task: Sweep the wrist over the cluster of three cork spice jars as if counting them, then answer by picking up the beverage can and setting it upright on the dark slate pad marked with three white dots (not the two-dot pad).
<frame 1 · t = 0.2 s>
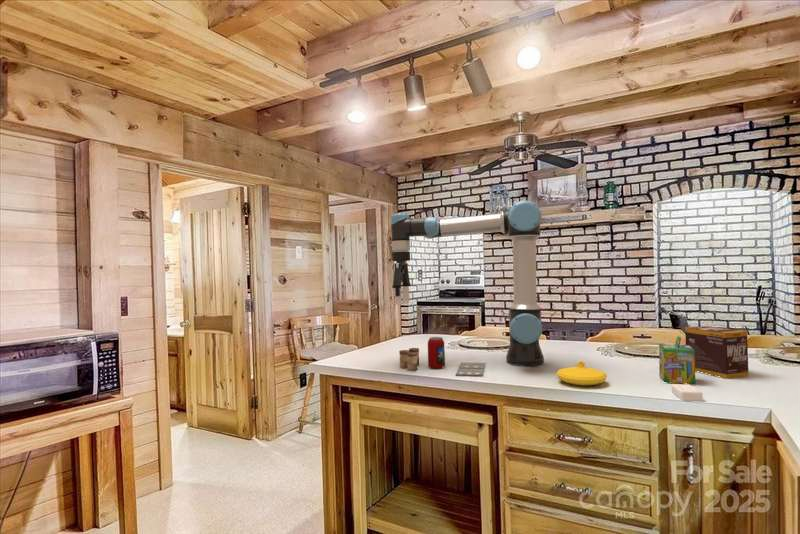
hand: (402, 303, 181), 26 cm above the worktop, fingers open, 13 cm apart
pad three: (470, 373, 167), on the worktop
jar b: (404, 367, 180), on the worktop
chalk box: (677, 381, 148), on the worktop
supplement box: (716, 373, 156), on the worktop
jar c: (414, 365, 185), on the worktop
jar a: (412, 370, 176), on the worktop
yellow lidded dish: (581, 383, 149), on the worktop
beverage can: (436, 368, 178), on the worktop
soap: (686, 398, 130), on the worktop
pad two: (472, 366, 178), on the worktop
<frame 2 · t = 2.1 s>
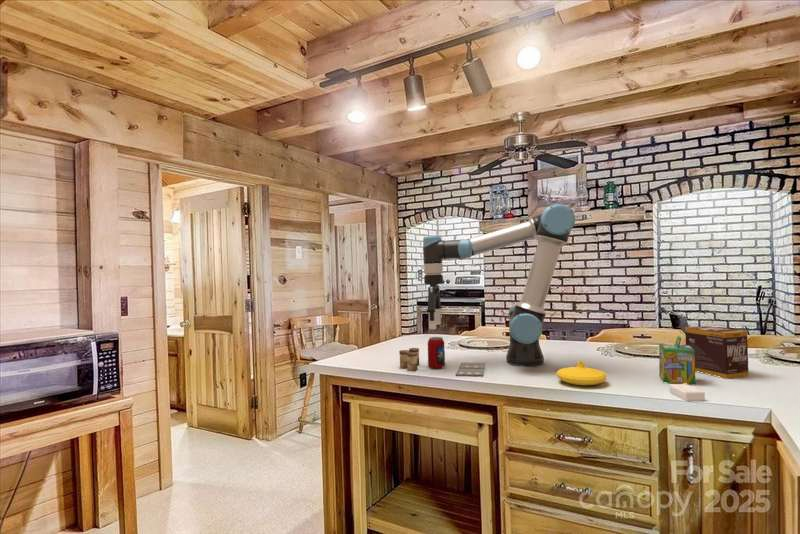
hand: (435, 326, 178), 17 cm above the worktop, fingers open, 13 cm apart
nothing on the worktop moved.
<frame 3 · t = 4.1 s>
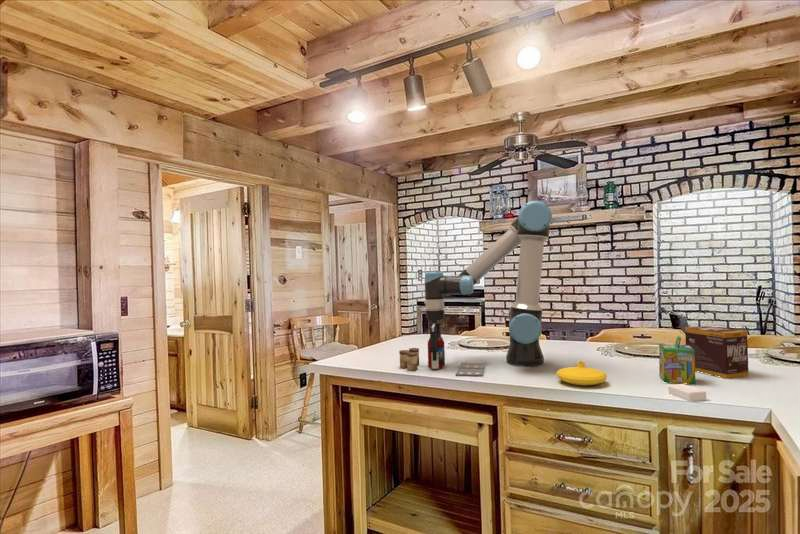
hand: (436, 366, 178), 1 cm above the worktop, fingers closed on beverage can, 7 cm apart
beverage can: (436, 368, 178), on the worktop, touching gripper
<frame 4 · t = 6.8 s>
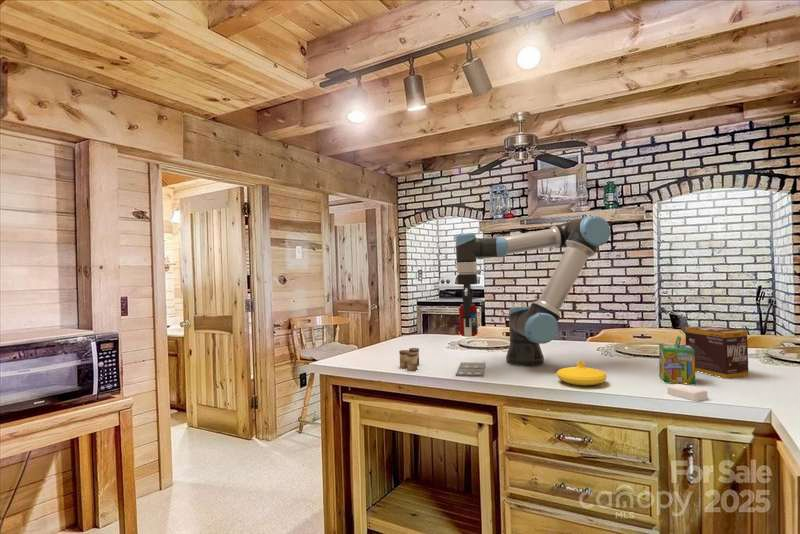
hand: (468, 334, 167), 15 cm above the worktop, fingers closed on beverage can, 7 cm apart
beverage can: (468, 336, 167), point 14 cm above the worktop, touching gripper
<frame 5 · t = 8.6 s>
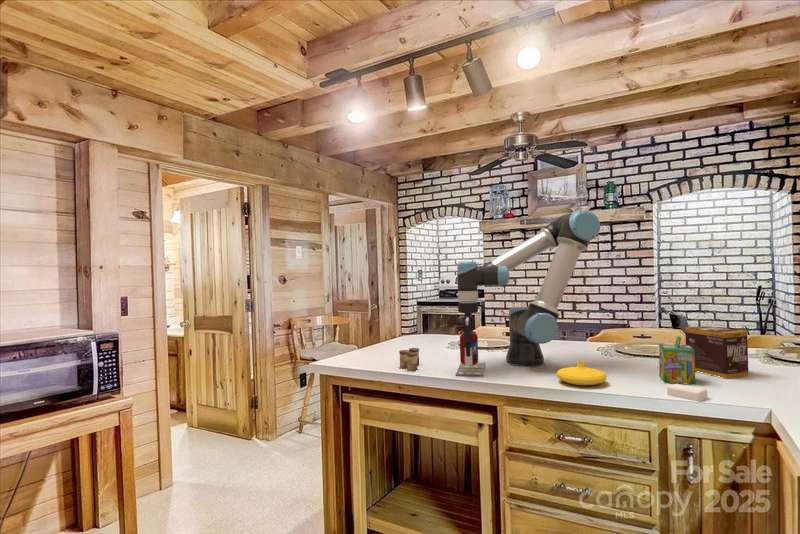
hand: (469, 362, 167), 4 cm above the worktop, fingers closed on beverage can, 7 cm apart
beverage can: (469, 364, 167), point 3 cm above the worktop, touching gripper
when the fingers open (2 cm above the worktop, at t = 9.5 s): beverage can stays where it is, resting on pad three.
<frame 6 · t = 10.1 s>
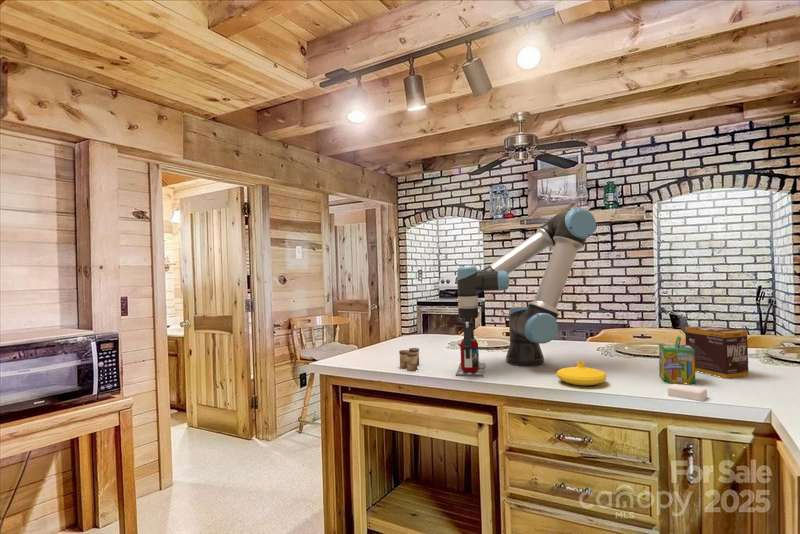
hand: (469, 363, 167), 4 cm above the worktop, fingers open, 13 cm apart
beverage can: (470, 371, 167), point 1 cm above the worktop, touching pad three
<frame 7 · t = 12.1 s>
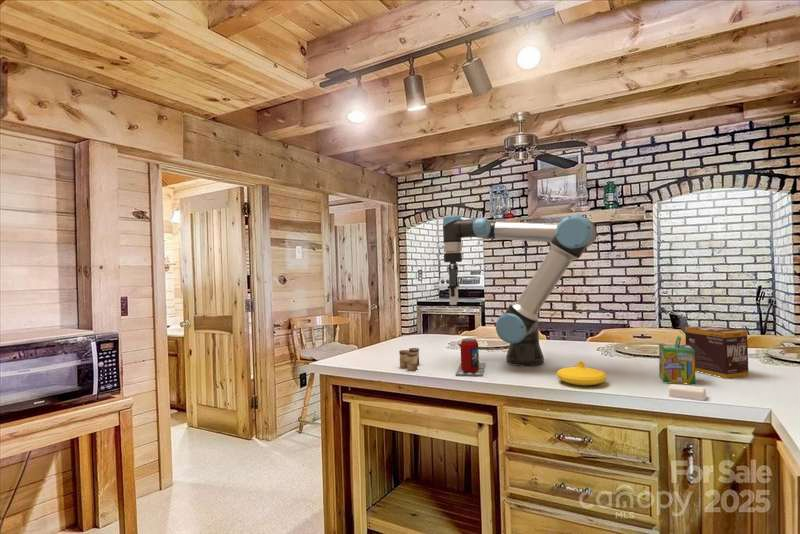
hand: (454, 303, 185), 25 cm above the worktop, fingers open, 13 cm apart
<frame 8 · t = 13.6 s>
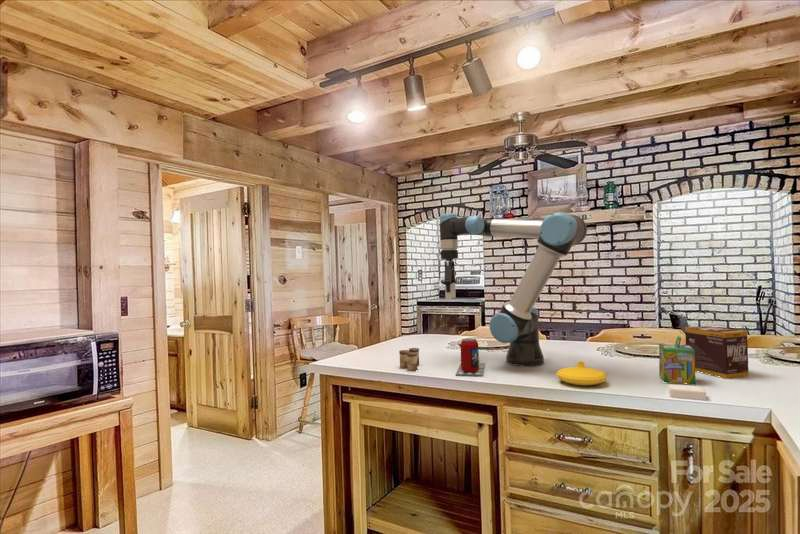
hand: (450, 299, 190), 27 cm above the worktop, fingers open, 13 cm apart
at the end: beverage can inside the target area on the pad three (0.0 cm from its centre), point 0.5 cm above the pad three's base; beverage can tilted 2°; the gripper is holding nothing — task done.
